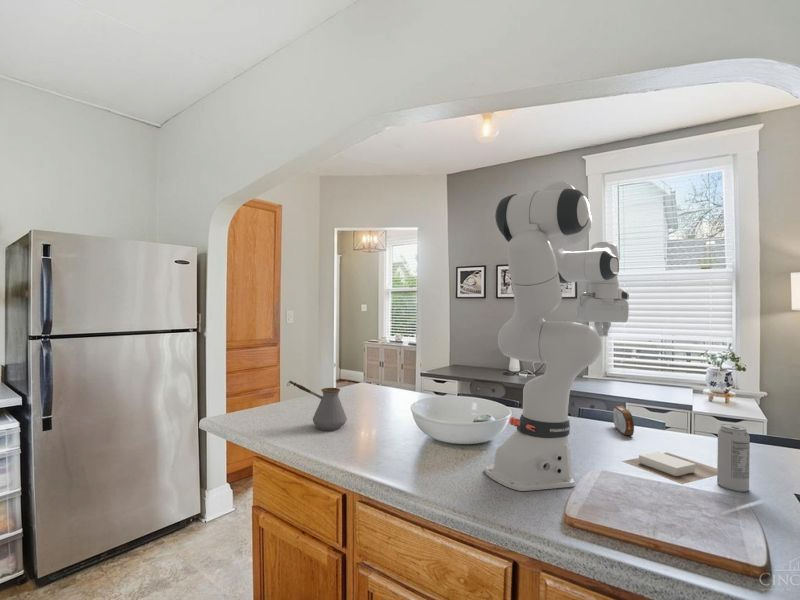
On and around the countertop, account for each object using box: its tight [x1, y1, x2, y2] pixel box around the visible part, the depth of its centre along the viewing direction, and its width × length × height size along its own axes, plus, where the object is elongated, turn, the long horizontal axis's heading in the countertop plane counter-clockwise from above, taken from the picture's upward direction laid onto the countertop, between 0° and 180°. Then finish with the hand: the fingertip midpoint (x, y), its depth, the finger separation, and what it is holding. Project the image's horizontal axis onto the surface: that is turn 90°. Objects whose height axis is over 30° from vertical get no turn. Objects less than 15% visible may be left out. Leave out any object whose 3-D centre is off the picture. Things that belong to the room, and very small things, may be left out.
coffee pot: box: [286, 380, 348, 432], centre depth 142 cm, size 21×12×15 cm, turn 81°
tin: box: [612, 405, 635, 437], centre depth 147 cm, size 15×3×8 cm, turn 168°
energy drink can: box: [716, 423, 751, 493], centre depth 100 cm, size 6×6×15 cm
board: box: [621, 452, 717, 485], centre depth 113 cm, size 20×16×1 cm
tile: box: [638, 451, 695, 476], centre depth 111 cm, size 2×10×8 cm
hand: (602, 336), depth 134 cm, fingers closed
